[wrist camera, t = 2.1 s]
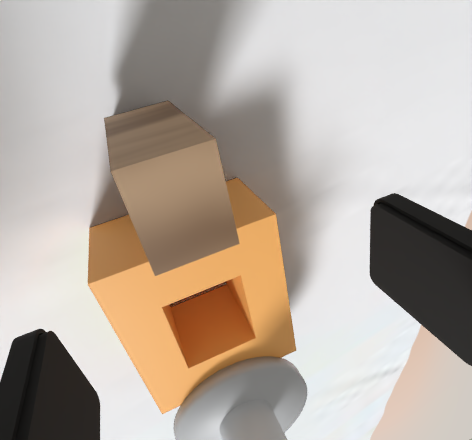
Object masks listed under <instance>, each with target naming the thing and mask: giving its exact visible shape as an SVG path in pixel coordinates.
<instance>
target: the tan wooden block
mask: <svg viewBox="0 0 472 440" xmlns="http://www.w3.org/2000/svg"><path fill="white" fill-rule="evenodd" d="M104 121H105V129H106V137H107V146H108V154H109V162H110V170H111V173H112V176H113V178H114V180H115V183H116V185H117V188H118V190H119V192H120V195H121V197H122V199H123V202H124V204H125V206H126V209H127V211H128V214H129V216H130V218H131V221H132V223H133V225H134V228H135V230H136V232H137V235H138V237H139V240H140V242H141V244H142V247H143V249H144V251H145V254H146V256H147V258H148V261H149V263H150V266H151V268H152V270H153V273H154V275H155V276H157V275H160V274H162V273H165V272H167V271H170V270H173V269H175V268H178V267H180V266H183V265H186V264H188V263H191V262H193V261H196V260H199V259H201V258H204V257H206V256H209V255H212V254H214V253H217V252H219V251H222V250H225V249H227V248H230V247H232V246H235V245H238V244H240V243H239V238H238V234H237V229H236V225H235V221H234V216H233V212H232V208H231V203H230V199H229V194H228V190H227V186H226V181H225V177H224V173H223V168H222V164H221V159H220V155H219V151H218V146H217V142H216V139H215V138H214V137H213V136H212V135H210V134H209V133H208V132H207V131H205V130H204V129H203V128H202V127H200V126H199V125H198V124H197V123H195V122H194V121H193V120H192V119H190V118H189V117H188V116H187V115H185V114H184V113H183V112H182V111H180V110H179V109H178V108H177V107H175V106H174V105H173V104H172V103H170V102H169V101H165V102H161V103H157V104H154V105H150V106H146V107H143V108H139V109H135V110H132V111H128V112H125V113H121V114H117V115H114V116H110V117H106V118H104Z"/></svg>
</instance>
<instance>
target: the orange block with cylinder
mask: <svg viewBox="0 0 472 440" xmlns="http://www.w3.org/2000/svg"><path fill="white" fill-rule="evenodd" d="M226 186H227V190H228V194H229V199H230V203H231V208H232V212H233V216H234V221H235V225H236V229H237V234H238V238H239V243H240V244H238V245H235V246H232V247H230V248H227V249H225V250H222V251H219V252H217V253H214V254H212V255H209V256H206V257H204V258H201V259H199V260H196V261H193V262H191V263H188V264H186V265H183V266H180V267H178V268H175V269H173V270H170V271H167V272H165V273H162V274H160V275H157V276H155V275H154V273H153V270H152V268H151V266H150V263H149V261H148V258H147V256H146V254H145V251H144V249H143V247H142V244H141V242H140V240H139V237H138V235H137V232H136V230H135V228H134V225H133V223H132V221H131V218H130V216H129V215H126V216H123V217H120V218H117V219H114V220H111V221H108V222H105V223H102V224H99V225H97V226H94V227H91V228H89V261H88V286H89V287H90V289H91V291H92V293H93V294H94V296H95V298H96V299H97V301H98V303H99V305H100V306H101V308H102V310H103V312H104V313H105V315H106V317H107V319H108V320H109V322H110V324H111V326H112V327H113V329H114V331H115V333H116V334H117V336H118V338H119V340H120V341H121V343H122V345H123V347H124V348H125V350H126V352H127V354H128V355H129V357H130V359H131V360H132V362H133V364H134V366H135V367H136V369H137V371H138V373H139V374H140V376H141V378H142V380H143V381H144V383H145V385H146V387H147V388H148V390H149V392H150V394H151V395H152V397H153V399H154V401H155V402H156V404H157V406H158V408H159V409H160V411H161V413H162V414H164V413H166V412H168V411H170V410H172V409H174V408H176V407H178V406H180V405H181V406H180V408H179V409H178V412H177V414H176V417H175V421H174V434H175V439H176V440H287V438H286V436H285V434H284V433H285V432H286V431H287V430H288V429H289V428H290V426H291V425H292V424H293V423H294V422H295V420H296V419H297V418H298V416H299V415H300V413H301V411H302V409H303V407H304V405H305V402H306V399H307V386H306V383H305V381H304V379H303V378H302V376H301V374H300V373H299V371H298V370H297V368H296V367H295V366H294V365H293V364H292V363H291V362H289V361H287V360H285V359H282V358H281V357H283V356H285V355H287V354H290V353H292V352H294V351H296V346H295V339H294V332H293V325H292V319H291V312H290V305H289V299H288V292H287V285H286V278H285V272H284V265H283V258H282V252H281V245H280V238H279V231H278V225H277V218H276V214H275V213H274V212H273V211H272V210H271V209H270V208H269V207H268V206H267V205H266V204H265V203H264V202H263V201H262V200H261V199H260V198H259V197H257V196H256V195H255V194H254V193H253V192H252V191H251V190H250V189H249V188H248V187H247V186H246V185H245V184H244V183H243V182H242V181H241V180H240V179H238V178H235V179H232V180H229V181H226ZM223 282H226V283H227V285H224V286H222V287H219V288H217V289H214V290H212V291H210V292H207V293H205V294H202V295H200V296H197V297H195V298H192V299H190V300H188V301H185V302H183V303H180V304H178V305H175V306H173V307H171V306H170V304H172V303H174V302H176V301H179V300H181V299H184V298H186V297H189V296H191V295H194V294H196V293H199V292H201V291H203V290H206V289H208V288H211V287H213V286H216V285H218V284H221V283H223Z"/></svg>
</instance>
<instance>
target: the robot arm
mask: <svg viewBox="0 0 472 440" xmlns="http://www.w3.org/2000/svg"><path fill="white" fill-rule="evenodd" d="M370 277H371V279H372V281H373V282H374V284H375V285H376V286H378V287H379V288H380V289H381V290H382V291H383V292H385V293H386V294H387V295H388V296H389V297H390V298H391V299H393V300H394V301H395V302H396V303H397V304H398V305H400V306H401V307H402V308H403V309H404V310H405V311H407V312H408V313H409V314H410V315H411V316H412V317H413V318H415V319H416V320H417V321H418V322H419V323H420V324H422V325H423V326H424V327H425V328H426V329H427V330H428V331H430V332H431V333H432V334H433V335H434V336H435V337H437V338H438V339H439V340H440V341H441V342H442V343H444V344H445V345H446V346H447V347H448V348H449V349H451V350H452V351H453V352H454V353H455V354H457V356H459V357H460V358H461V359H462V360H463V361H464V362H466V363H468V364H469V365H471V366H472V230H469V229H467V228H466V227H464V226H461V225H459V224H457V223H455V222H453V221H451V220H449V219H447V218H445V217H443V216H441V215H439V214H437V213H435V212H433V211H431V210H429V209H427V208H425V207H423V206H421V205H419V204H417V203H415V202H413V201H411V200H409V199H407V198H405V197H403V196H401V195H399V194H396V193H394V194H390V195H388V196H385V197H382V198H380V199H377V200H376V201H375V203H374V206H373V207H372V208H371V224H370ZM0 440H100V402H99V398H98V395H97V393H96V391H95V390H94V388H93V387H92V385H91V384H90V383H89V381H88V380H87V378H86V377H85V375H84V374H83V373H82V371H81V370H80V368H79V367H78V366H77V364H76V363H75V361H74V360H73V358H72V357H71V356H70V354H69V353H68V351H67V350H66V349H65V347H64V346H63V344H62V343H61V341H60V340H59V339H58V337H57V336H56V334H55V333H54V332H52V331H49V332H45V331H44V330H43V329H38V330H35V331H32V332H30V333H27V334H25V335H22V336H19V337H17V338H15V339H14V340H13V342H12V345H11V348H10V352H9V355H8V358H7V362H6V365H5V368H4V372H3V375H2V378H1V381H0ZM470 440H472V439H470Z"/></svg>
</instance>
